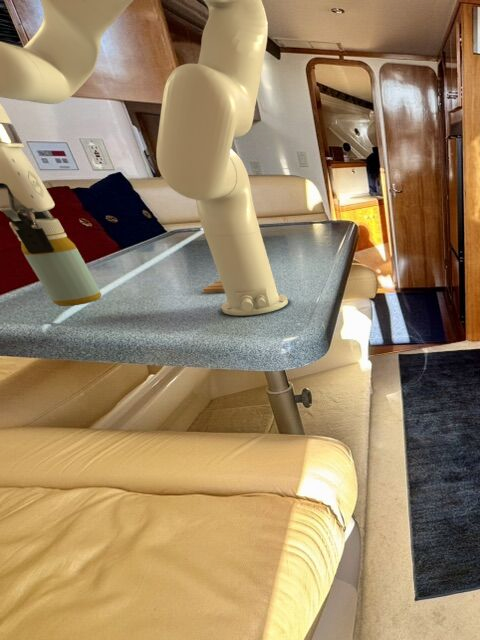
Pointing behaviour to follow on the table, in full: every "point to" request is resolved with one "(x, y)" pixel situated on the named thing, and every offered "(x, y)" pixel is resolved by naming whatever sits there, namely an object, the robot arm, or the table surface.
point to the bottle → (62, 268)
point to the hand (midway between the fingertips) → (49, 248)
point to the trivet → (214, 288)
